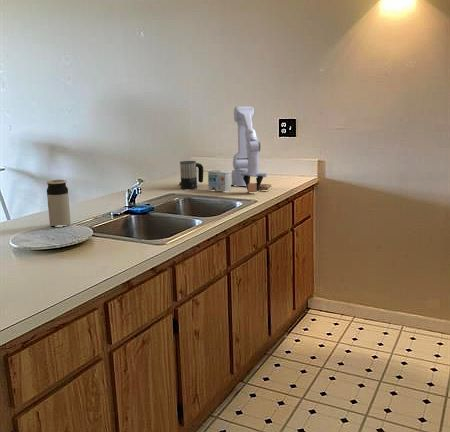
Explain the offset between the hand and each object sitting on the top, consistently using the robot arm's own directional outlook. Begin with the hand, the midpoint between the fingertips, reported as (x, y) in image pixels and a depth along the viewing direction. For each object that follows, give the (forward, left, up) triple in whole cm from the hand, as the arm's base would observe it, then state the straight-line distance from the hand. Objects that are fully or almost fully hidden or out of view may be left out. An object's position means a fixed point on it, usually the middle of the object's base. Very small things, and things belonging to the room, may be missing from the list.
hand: (253, 190), depth 269 cm
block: (0, 0, -1) cm, 1 cm away
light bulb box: (-19, +1, -2) cm, 19 cm away
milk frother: (-40, +6, -2) cm, 41 cm away
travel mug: (-54, -88, -2) cm, 103 cm away
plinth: (+2, +10, -1) cm, 10 cm away
